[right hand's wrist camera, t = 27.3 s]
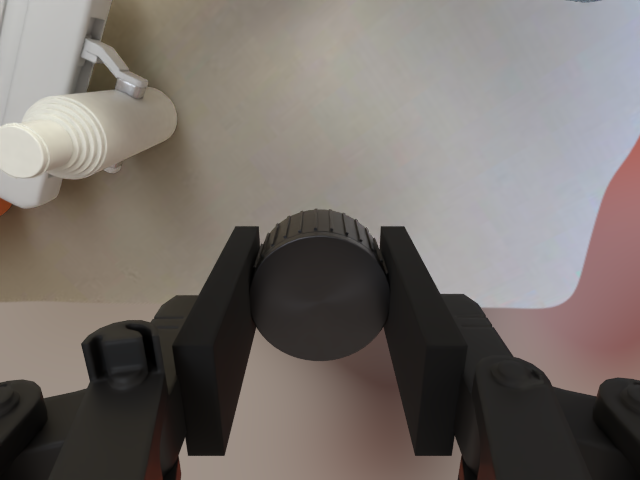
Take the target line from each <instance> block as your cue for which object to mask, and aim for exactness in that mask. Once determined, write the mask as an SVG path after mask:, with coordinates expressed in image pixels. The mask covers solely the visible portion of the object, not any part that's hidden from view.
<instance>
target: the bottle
mask: <svg viewBox="0 0 640 480" xmlns="http://www.w3.org/2000/svg"><path fill="white" fill-rule="evenodd" d="M176 126H177V113H176V109H175V107H174V105H173V103H172V101H171V100H170V99H169V97H168V96H167V95H166V94H164V93H163V92H162V91H160V90H158V89H156V88H152V87H147V88H146V91H145V94H144V97H143V98H140V99H135V98H132V97H130V96H129V95H128V94H127V93H122V92H120V91H118V90H106V91H96V92H86V93H76V94H67V95H57V96H49V97H45V98H42V99H40V100H39V101H37V102H36V103H34V104H33V105H32V106H31V107H30V108H29V109H28V110H27V111H26V113H25V115H24V117H23V119H22V123H7V124H4V125H2V126H0V169H1V170H2V172H4V173H5V174H7V175H8V176H10V177H13V178H15V179H16V178H35V177H38V176H40V175H42V174H43V173H45V172H47V173H49V174H51V175H53V176H56V177H59V178H63V179H83V178H86V177H88V176H91V175H93V174H95V173H97V172H99V171H101V170H104V169H106V168H108V167H110V166H112V165H114V164H116V163H119V162H121V161H123V160H125V159H127V158H129V157H131V156H134V155H136V154H138V153H140V152H142V151H144V150H146V149H149V148H151V147H153V146H155V145H157V144H159V143H161V142H164V141H166V140H167V139H168V138H170V137H171V136H172V134H173V133H174V131H175V129H176Z"/></svg>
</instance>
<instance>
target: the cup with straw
mask: <svg viewBox="0 0 640 480" xmlns="http://www.w3.org/2000/svg"><path fill="white" fill-rule="evenodd" d="M11 205H12V204H11V203H9V202H7V201H5V200H3V199H2V198H0V216H1V215H2V214H4V213H5V212H6V211H7V210H8V209H9V208H10V207H11Z"/></svg>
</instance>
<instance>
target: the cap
mask: <svg viewBox="0 0 640 480" xmlns="http://www.w3.org/2000/svg"><path fill="white" fill-rule="evenodd" d="M253 269H255V270H254V273H253V276H252V280H251V283H250V287H249V296H250V311H251V316H252V319H253V321H254V323H255V325H256V327H257V329H258V330H259V332H260V333H261V334H262V336H263V337H264V338H265V339H266V340H267V341H268V342H269V343H271V344H272V345H273V346H274V347H276V348H277V349H279V350H280V351H282V352H284V353H286V354H288V355H291V356H293V357H296V358H300V359H305V360H311V361H328V360H335V359H340V358H343V357H346V356H349V355H351V354H353V353H356V352H357V351H359V350H361V349H362V348H364V347H365V346H366V345H368V344H369V343H370V342H371V341H372V340H373V339H374V338H375V337H376V336H377V335H378V334H379V332H380V331H381V330H382V328H383V326H384V324H385V323H386V320H387V318H388V315H389V306H390V285H389V281H388V278H387V275H389V274H388V271H387V268H386V265H385V262H384V259H383V256H382V253H381V250H380V249H379V248H378V245H377V242H376V239H375V238H373V237H372V236H371V234H370V233H369V231H368V229H367V227H366V228H364V227H363V226H362V225H361V224H360V223H359V222H358V220H357V219H355V220H354V219H353V218H351V217H349V216H347V215H345V213H343V214H342V213H339V212H335V211H332V210H330V209H329V210H317V209H315V210H309V211H304V212H303V211H301V212H300V213H297V214H295V215H292V216H288V217H287V219H285V220H284V221H282V222H281V223H279V224H278V223H277V224H276V227H275V228H274V229H273V230H272V231H271V232H270V233H268V234H267V236H266V239H265V242H264V244H261V246H260V249H259V252H258V255H257V258H256V261H255V264H254V267H253Z"/></svg>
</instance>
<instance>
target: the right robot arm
mask: <svg viewBox="0 0 640 480" xmlns="http://www.w3.org/2000/svg"><path fill="white" fill-rule="evenodd" d="M572 1H575V2H578V1H579V2H594V1H600V0H572ZM259 249H260V240H259V226H236V227H235V228H234V230H233V232H232V234H231V236H230V238H229V240H228V242H227V243H226V245H225V247H224V249H223V251H222V253H221V255H220V256H219V258H218V260H217V262H216V264H215V266H214V268H213V270H212V271H211V273H210V275H209V277H208V279H207V281H206V283H205V285H204V286H203V288H202V290H201V292H200V294H199V295H176V296H175V297H173V298H172V299H170V300H169V301H168V302H166V303H165V304H163V305H162V306H161V308H160V309H159V311H158V312H157V314H156V315H155V317H154V319H153V320H152V321H151V323H150V322H146V321H142V320H127V321H122V322H117V323H113V324H110V325H108V326H105V327H102V328H100V329H98V330H96V331H95V332H93V333H92V334H90V335H89V336H88V337H87V338H86V339H85V340H84V341H83V342H82V344H81V345H82V349H83V353H84V358H85V362H86V366H87V370H88V374H89V379H90V383H89V386H88V388H87V389H83V390H80V391H76V392H72V393H67V394H62V395H58V396H53V397H48V398H43V395H42V392H41V388H40V387H39V386H38V385H37V384H36V383H35V382H33V381H27V380H13V381H6V382H2V383H0V480H181V470H180V463H179V456H178V455H179V452H180V450H181V447H182V444H183V441H184V439H185V438H186V445H187V451H188V456H224V455H225V452H226V447H227V443H228V439H229V435H230V431H231V427H232V423H233V419H234V415H235V411H236V407H237V403H238V399H239V395H240V391H241V387H242V382H243V378H244V374H245V370H246V366H247V362H248V358H249V354H250V350H251V346H252V342H253V338H254V334H255V330H256V325H255V323H254V321H253V319H252V316H251V311H250V296H249V287H250V283H251V280H252V276H253V273H254V270H255V269H253V267H254V264H255V261H256V258H257V255H258V252H259ZM380 250H381V253H382V256H383V259H384V262H385V265H386V268H387V271H388V274H389V275H387V278H388V281H389V285H390V306H389V315H388V318H387V320H386V323H385V324H384V326H383V327H384V331H385V335H386V339H387V343H388V347H389V351H390V355H391V359H392V363H393V367H394V371H395V375H396V380H397V383H398V388H399V392H400V396H401V400H402V404H403V408H404V412H405V416H406V420H407V424H408V428H409V432H410V436H411V440H412V445H413V448H414V453H415V456H451V455H452V449H453V442H454V436H455V437H456V440H457V443H458V445H459V448H460V451H461V454H462V456H461V463H460V469H459V475H458V480H640V381H639V380H634V379H627V378H613V379H608V380H605V381H604V382H603V383H602V384H601V385H600V387H599V390H598V394H597V397H596V396H591V395H586V394H582V393H577V392H572V391H568V390H563V389H560V388H556V387H553V386H552V385H551V382H550V380H549V379H548V378H547V376H546V375H545V374H544V372H543V371H541V370H540V369H539V368H537V367H536V366H534V365H533V364H531V363H529V362H527V361H524V360H522V359H520V358H516V357H513V355H512V354H511V352H510V351H509V349H508V348H507V346H506V345H505V343H504V342H503V340H502V339H501V338H500V336H499V335H498V333H497V332H496V330H495V329H494V327H492V324H491V323H490V321H489V320H488V318H486V315H485V314H484V312H483V311H482V309H481V308H480V306H479V305H478V304H477V303H476V302H474V301H473V300H471V299H470V298H469V297H467V296H466V295H464V294H440V293H439V291H438V289H437V287H436V285H435V283H434V281H433V280H432V278H431V276H430V274H429V272H428V270H427V268H426V266H425V265H424V263H423V261H422V259H421V257H420V255H419V253H418V251H417V250H416V248H415V246H414V244H413V242H412V240H411V238H410V236H409V235H408V233H407V231H406V229H405V227H404V226H381V235H380Z"/></svg>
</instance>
